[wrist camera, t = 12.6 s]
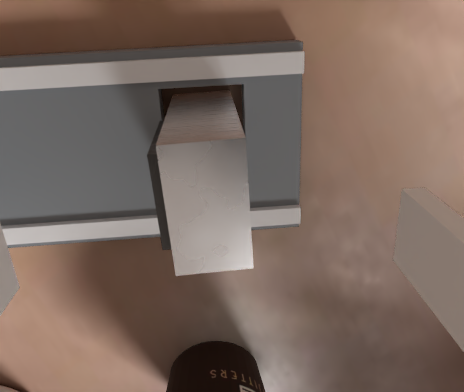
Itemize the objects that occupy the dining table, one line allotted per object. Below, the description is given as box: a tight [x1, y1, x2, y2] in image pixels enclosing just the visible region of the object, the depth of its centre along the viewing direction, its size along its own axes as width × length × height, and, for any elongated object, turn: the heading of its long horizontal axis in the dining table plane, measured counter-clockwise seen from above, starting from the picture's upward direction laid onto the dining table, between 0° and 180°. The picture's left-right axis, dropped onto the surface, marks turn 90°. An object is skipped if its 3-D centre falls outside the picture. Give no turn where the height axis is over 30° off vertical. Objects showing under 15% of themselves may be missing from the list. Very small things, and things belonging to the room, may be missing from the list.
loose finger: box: [147, 90, 254, 276], centre depth 19 cm, size 5×4×9 cm
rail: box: [0, 40, 305, 248], centre depth 18 cm, size 10×24×10 cm, turn 93°
